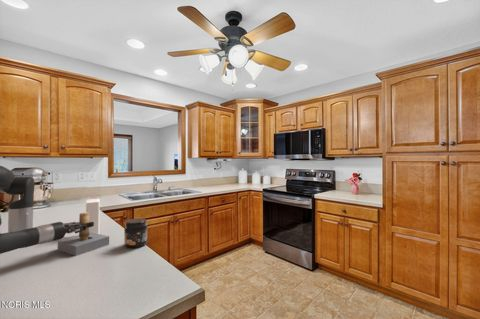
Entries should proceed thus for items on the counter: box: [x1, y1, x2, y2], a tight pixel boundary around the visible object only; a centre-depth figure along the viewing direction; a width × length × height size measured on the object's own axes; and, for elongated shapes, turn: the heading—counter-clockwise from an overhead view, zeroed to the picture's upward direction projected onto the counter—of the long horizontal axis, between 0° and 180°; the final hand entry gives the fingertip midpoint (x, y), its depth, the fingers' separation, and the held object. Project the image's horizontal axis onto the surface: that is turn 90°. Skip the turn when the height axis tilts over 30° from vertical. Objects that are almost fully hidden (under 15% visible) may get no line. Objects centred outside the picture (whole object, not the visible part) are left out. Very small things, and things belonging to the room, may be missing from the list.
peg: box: [78, 212, 90, 241], centre depth 108 cm, size 4×4×14 cm
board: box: [57, 232, 110, 256], centre depth 108 cm, size 15×15×4 cm
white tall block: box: [85, 195, 101, 234], centre depth 126 cm, size 6×6×22 cm
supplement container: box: [123, 218, 148, 249], centre depth 111 cm, size 10×10×12 cm
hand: (90, 223), depth 110 cm, fingers closed on peg, 4 cm apart
